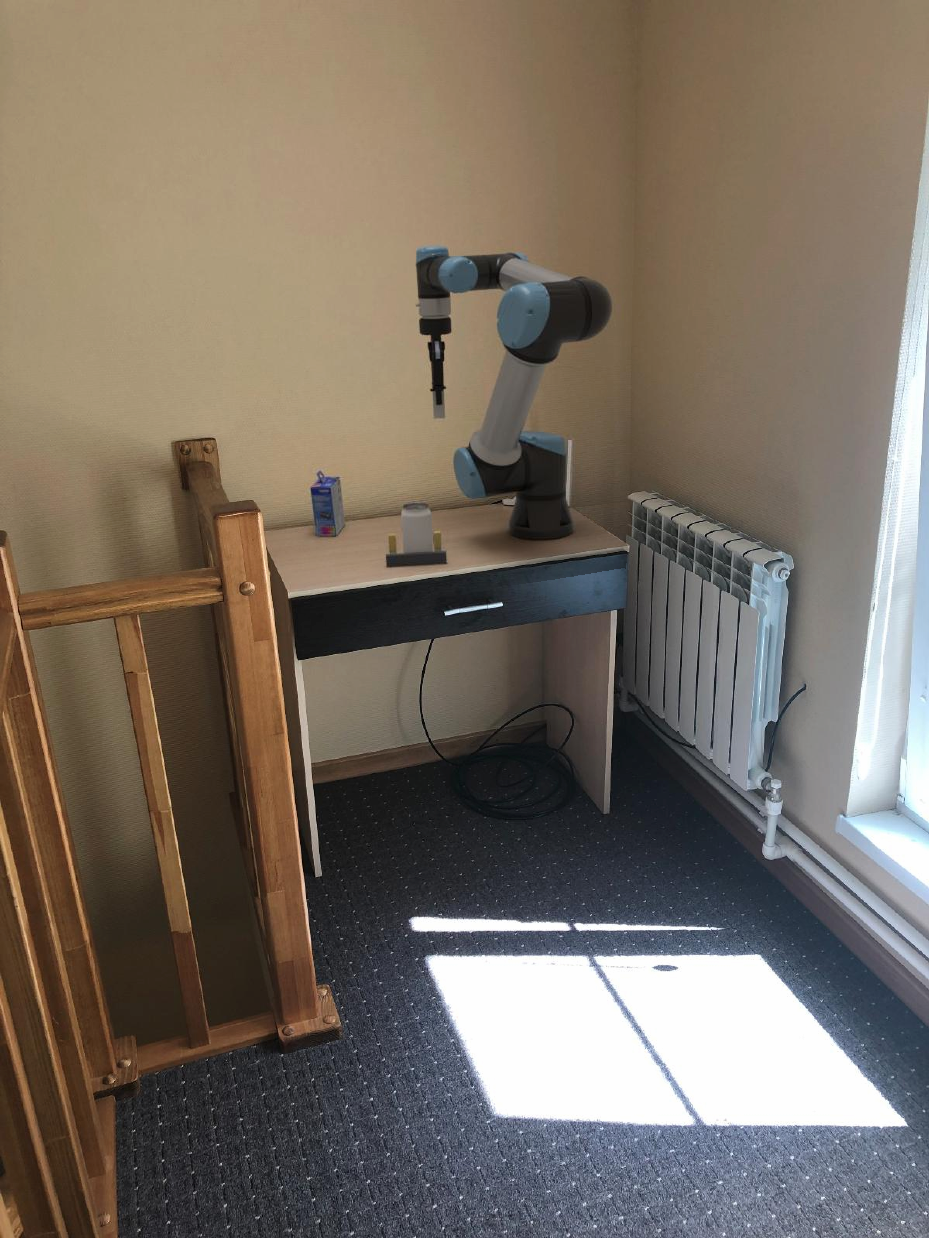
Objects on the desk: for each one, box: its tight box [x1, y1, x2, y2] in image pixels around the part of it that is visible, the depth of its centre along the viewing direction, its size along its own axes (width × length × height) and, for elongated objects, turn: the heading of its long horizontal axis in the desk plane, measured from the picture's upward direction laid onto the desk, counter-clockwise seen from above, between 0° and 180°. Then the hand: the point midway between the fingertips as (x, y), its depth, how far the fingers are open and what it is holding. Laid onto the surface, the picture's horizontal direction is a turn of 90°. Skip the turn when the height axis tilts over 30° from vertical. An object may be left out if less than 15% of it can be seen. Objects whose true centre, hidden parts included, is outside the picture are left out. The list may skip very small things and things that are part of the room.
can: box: [400, 502, 434, 553], centre depth 223 cm, size 6×6×12 cm
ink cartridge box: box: [309, 470, 346, 537], centre depth 246 cm, size 10×6×14 cm, turn 174°
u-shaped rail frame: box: [385, 530, 448, 568], centre depth 229 cm, size 13×19×5 cm
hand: (439, 417), depth 248 cm, fingers closed
